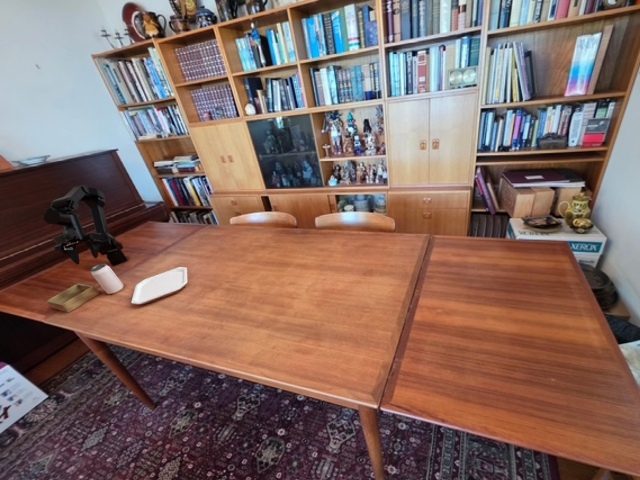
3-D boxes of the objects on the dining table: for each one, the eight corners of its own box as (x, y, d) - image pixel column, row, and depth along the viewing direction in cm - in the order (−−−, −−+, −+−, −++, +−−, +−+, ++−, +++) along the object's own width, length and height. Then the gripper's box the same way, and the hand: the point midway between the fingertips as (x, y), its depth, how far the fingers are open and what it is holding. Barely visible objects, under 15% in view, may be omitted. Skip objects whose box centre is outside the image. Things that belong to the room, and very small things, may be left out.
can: (120, 291, 127) (103, 268, 121) (104, 296, 126) (86, 273, 120) (126, 283, 133) (109, 261, 126) (111, 287, 132) (93, 265, 125)
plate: (132, 311, 113) (129, 307, 112) (139, 285, 129) (136, 281, 128) (189, 290, 119) (186, 285, 118) (188, 268, 135) (186, 264, 134)
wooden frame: (84, 290, 134) (78, 283, 132) (99, 293, 129) (93, 286, 127) (53, 308, 125) (46, 301, 123) (68, 312, 120) (61, 304, 118)
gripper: (33, 233, 121) (48, 269, 123) (72, 219, 120) (87, 256, 121) (62, 233, 133) (75, 266, 134) (98, 220, 131) (111, 254, 132)
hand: (86, 261), depth 130 cm, fingers open, 9 cm apart
